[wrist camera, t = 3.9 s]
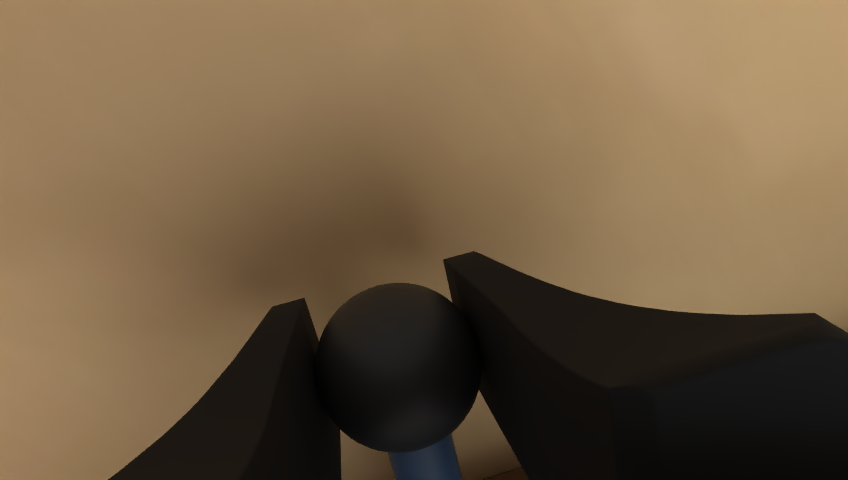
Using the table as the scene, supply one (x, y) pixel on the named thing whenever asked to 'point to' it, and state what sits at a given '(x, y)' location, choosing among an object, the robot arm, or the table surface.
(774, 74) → the table surface
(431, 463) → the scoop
